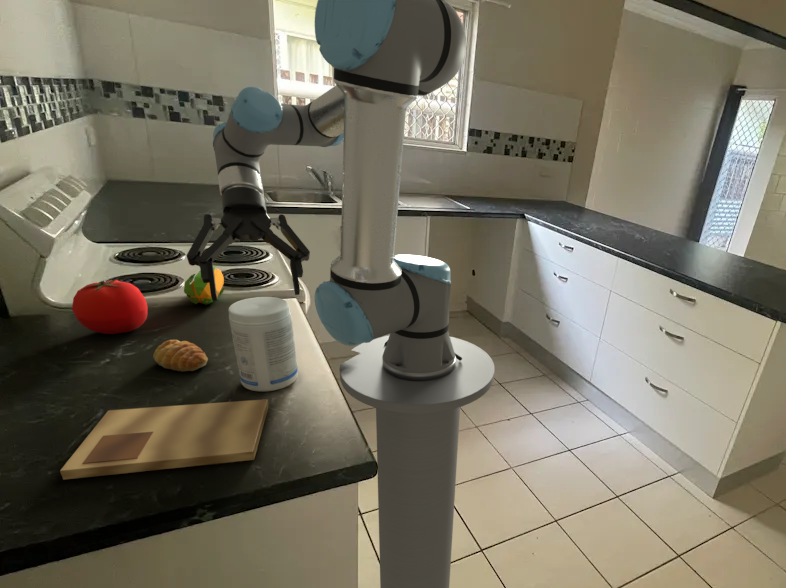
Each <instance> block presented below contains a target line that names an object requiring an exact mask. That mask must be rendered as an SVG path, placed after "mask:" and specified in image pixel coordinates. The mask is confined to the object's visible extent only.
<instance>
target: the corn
mask: <svg viewBox="0 0 786 588" xmlns="http://www.w3.org/2000/svg"><path fill="white" fill-rule="evenodd" d="M213 268H214V276H215V284H216V292H217V300H218V299H219V298H220V296H221V295H222V294H223V293H224V291H225V287H223V286H224V284H225V281H224V280H225V277H224V274H223V273H222V270H221V269H219V268H216V266H214V265H213ZM183 292H184V294H185V296H186V297H187V299H188V300H189V301H190V302H191V303H193V304H194V305H198V304H203V305H205V306H206V305H209V304H211V303H214V302H215V301H213V300H212V297H211V292H210V284H209V283H204V282H203V281H202V278H201V271H200V270H199V271H198V272H197V273H193V274H191V275H190V276H189V277H188V278H187V279H186V280H185V282H184V288H183Z"/></svg>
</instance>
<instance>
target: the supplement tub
mask: <svg viewBox="0 0 786 588" xmlns="http://www.w3.org/2000/svg"><path fill="white" fill-rule="evenodd" d="M292 318H293V317H292V314H291V310H290V304H289V302H288V301H287V300H285V299H283V298H280V297H276V296H275V297H274V296H257V297H255V296H254V297H249V298H244V299H241V300H238V301H236V302H234V303H232V304H230V306H229V307H228V321H229V326H230V332H231V336H232V342H233V348H234V353H235V359H236V365H237V370H238V375H239V380H240V384H241V385H242V386H243V387H244V388H245V389H247V390H250V391H253V392H259V393H261V392H264V393H265V392H273V391H277V390H281V389H284V388H286V387H288V386H290V385H292V384H293V383H294V382H295V381H296V380H297V378H298V376H299V368H298V367H299V366H298V360H297V359H298V357H297V351H296V342H295V334H294V326H293V319H292Z"/></svg>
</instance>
